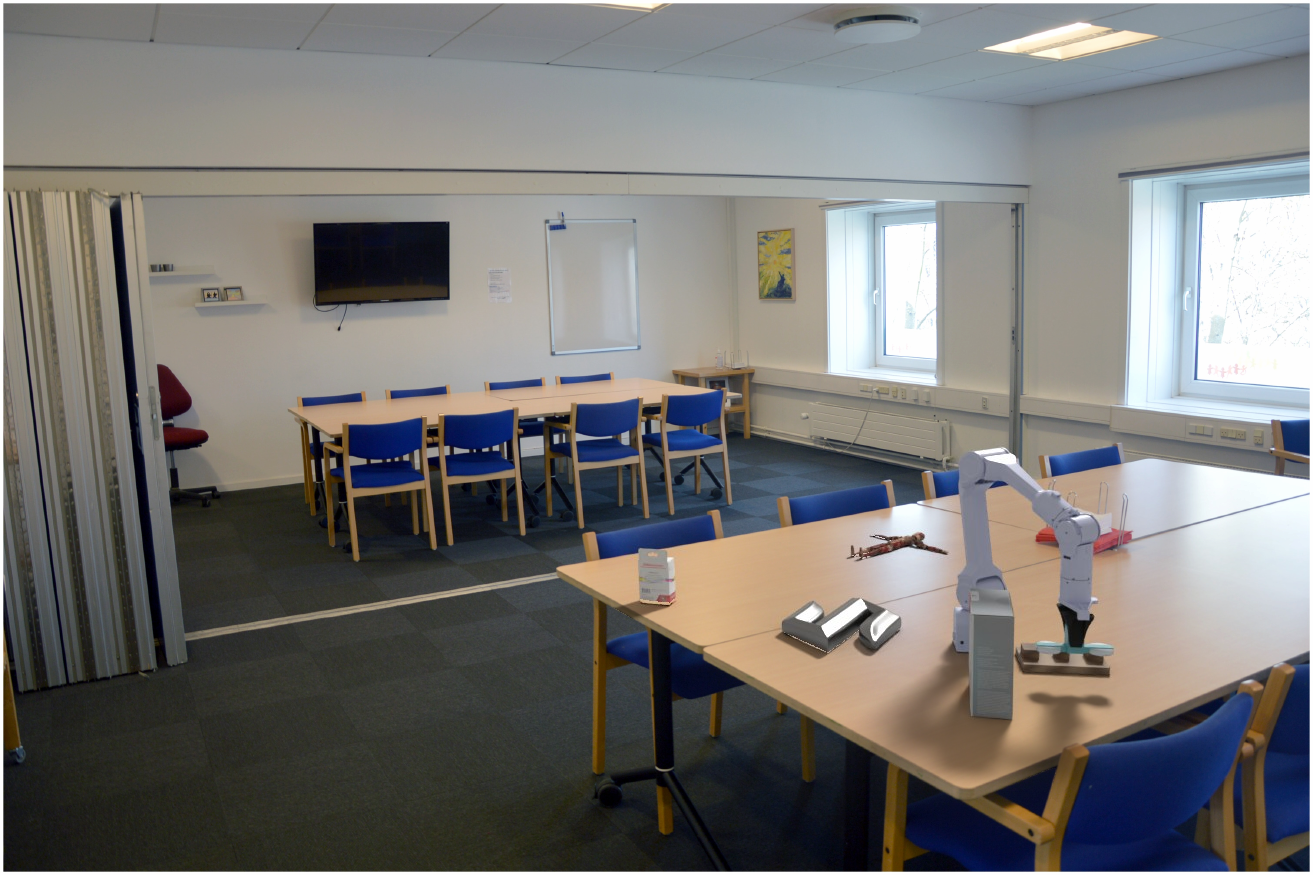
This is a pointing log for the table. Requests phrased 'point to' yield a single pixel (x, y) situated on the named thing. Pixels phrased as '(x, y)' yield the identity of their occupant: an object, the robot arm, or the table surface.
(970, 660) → the hard drive box
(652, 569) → the ink cartridge box
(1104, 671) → the display stand
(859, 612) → the emblem
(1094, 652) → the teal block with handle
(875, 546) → the mannequin
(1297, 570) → the table surface
